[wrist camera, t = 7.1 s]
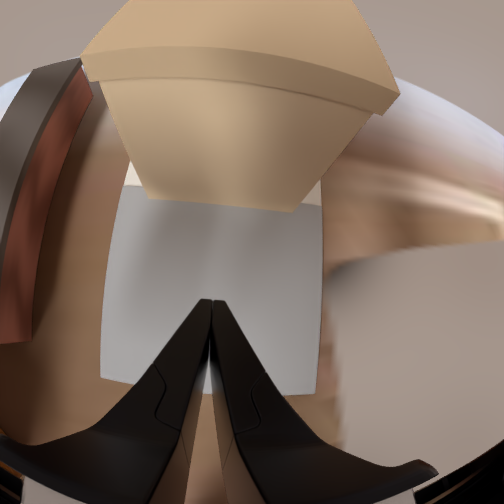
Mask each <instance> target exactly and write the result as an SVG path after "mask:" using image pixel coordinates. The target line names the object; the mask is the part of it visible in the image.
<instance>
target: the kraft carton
mask: <svg viewBox="0 0 504 504" xmlns="http://www.w3.org/2000/svg"><path fill="white" fill-rule="evenodd" d="M80 58H81V61H82V63H83V66H84V69H85V71H86V74H87V77H88V79H89V82H95V81H99V84H100V86H101V89H102V92H103V94H104V97H105V100H106V102H107V105H108V107H109V110H110V113H111V115H112V118H113V120H114V122H115V125H116V127H117V130H118V132H119V135H120V137H121V139H122V142H123V144H124V146H125V149H126V151H127V153H128V155H129V158H130V160H131V162H132V164H133V167H134V169H135V171H136V173H137V175H138V177H139V180H140V182H141V184H142V186H143V188H144V190H145V192H146V194H147V196H148V198H149V199H160V200H173V201H185V202H197V203H208V204H218V205H228V206H237V207H246V208H255V209H264V210H272V211H280V212H288V213H293V212H294V210H295V209H296V208H297V207H298V206H299V204H300V203H301V202H302V201H303V199H304V198H305V197H306V196H307V194H308V193H309V192H310V191H311V190H312V188H313V187H314V186H315V185H316V183H317V182H318V181H319V180H320V178H321V177H322V176H323V175H324V174H325V172H326V171H327V170H328V169H329V167H330V166H331V165H332V164H333V162H334V161H335V160H336V159H337V157H338V156H339V155H340V154H341V153H342V151H343V150H344V149H345V148H346V146H347V145H348V144H349V143H350V141H351V140H352V139H353V138H354V136H355V135H356V134H357V133H358V131H359V130H360V129H361V128H362V126H363V125H364V124H365V123H366V121H367V120H368V119H369V118H370V116H371V115H372V114H373V113H376V114H379V115H381V116H382V115H383V114H384V113H385V112H386V111H387V109H388V108H389V107H390V106H391V105H392V103H393V102H394V101H395V100H396V99H397V98H398V96H399V95H400V92H399V89H398V87H397V84H396V82H395V79H394V77H393V75H392V73H391V70H390V68H389V66H388V64H387V62H386V60H385V58H384V56H383V53H382V51H381V49H380V48H379V46H378V44H377V42H376V40H375V38H374V36H373V34H372V33H371V31H370V29H369V27H368V25H367V24H366V22H365V20H364V19H363V17H362V15H361V14H360V12H359V11H358V9H357V7H356V6H355V4H354V3H353V1H352V0H129V1H128V2H127V3H126V4H125V5H124V6H123V7H122V8H121V9H120V10H119V11H118V12H117V13H116V14H115V15H114V16H113V17H112V18H111V19H110V20H109V22H108V23H107V24H106V25H105V26H104V27H103V28H102V29H101V30H100V31H99V33H98V34H97V35H96V36H95V37H94V39H93V40H92V41H91V42H90V43H89V45H88V46H87V47H86V49H85V50H84V51H83V52H82V54H81V55H80Z"/></svg>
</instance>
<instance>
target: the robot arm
mask: <svg viewBox="0 0 504 504" xmlns="http://www.w3.org/2000/svg"><path fill="white" fill-rule="evenodd" d="M212 303H213V305H212ZM209 349H210V350H209ZM208 361H209V366H210V377H211V387H212V396H213V405H214V414H215V422H216V430H217V438H218V445H219V452H220V459H221V466H222V470H223V478H224V484H225V490H226V496H227V501H228V504H504V439H503V440H502V441H501V442H499V443H498V444H496V445H495V446H494V447H492V448H491V449H489V450H488V451H486V452H485V453H483V454H482V455H480V456H479V457H477V458H476V459H474V460H472V461H471V462H469V463H467V464H466V465H464V466H462V467H460V468H459V469H457V470H455V471H453V472H452V473H450V474H448V475H446V476H444V477H442V478H440V479H439V480H437V481H435V482H433V483H431V484H429V485H427V486H425V487H423V488H421V489H420V490H417V491H415V492H414V491H413V487H416V486H418V485H420V484H422V483H424V482H426V481H428V480H430V479H431V478H433V477H435V476H437V475H438V474H439V473H438V471H437V470H436V469H435V468H434V467H433V466H431V465H430V464H428V463H426V462H424V461H422V460H420V459H417V460H413V461H411V462H408V463H405V464H403V465H400V466H396V467H385V466H380V465H377V464H374V463H371V462H369V461H366V460H363V459H361V458H358V457H356V456H354V455H351V454H349V453H346V452H344V451H342V450H340V449H338V448H335V447H333V446H331V445H329V444H327V443H326V442H324V441H323V440H322V439H320V438H319V437H318V436H317V435H316V434H315V433H314V432H313V431H312V430H311V429H310V428H309V426H308V425H307V424H306V423H305V422H304V421H303V420H302V418H301V417H300V416H299V415H298V414H297V413H296V412H295V410H294V409H293V408H292V407H291V406H290V404H289V403H288V402H287V401H286V399H285V398H284V397H283V396H282V394H281V393H280V392H279V390H278V389H277V387H276V386H275V384H274V383H273V381H272V380H271V378H270V376H269V375H268V373H267V372H266V370H265V368H264V367H263V365H262V363H261V362H260V360H259V358H258V357H257V355H256V353H255V352H254V350H253V348H252V347H251V345H250V343H249V341H248V340H247V338H246V336H245V335H244V333H243V331H242V329H241V328H240V326H239V324H238V322H237V321H236V319H235V317H234V315H233V314H232V312H231V310H230V308H229V306H228V305H227V303H226V301H224V300H216V299H215V300H213V301H212V299H204V298H201V299H200V300H199V301H198V302H197V304H196V305H195V306H194V308H193V309H192V310H191V312H190V313H189V314H188V316H187V317H186V318H185V319H184V321H183V322H182V323H181V325H180V326H179V327H178V329H177V330H176V331H175V333H174V334H173V335H172V337H171V338H170V339H169V341H168V342H167V343H166V345H165V346H164V347H163V349H162V350H161V352H160V353H159V354H158V356H157V357H156V358H155V360H154V361H153V363H152V364H151V365H150V366H149V368H148V369H147V370H146V372H145V373H144V374H143V375H142V377H141V378H140V379H139V380H138V382H137V383H136V384H135V385H134V386H133V387H132V388H131V389H130V390H129V391H128V392H127V394H126V395H125V396H124V397H123V398H122V399H121V400H120V401H119V402H118V403H117V404H116V405H115V406H114V407H113V408H112V409H111V410H110V411H109V412H108V413H107V414H106V415H105V416H104V417H103V418H102V419H101V420H100V421H98V422H97V423H96V424H94V425H93V426H91V427H89V428H88V429H85V430H83V431H80V432H77V433H74V434H72V435H69V436H66V437H63V438H60V439H57V440H54V441H51V442H47V443H44V444H40V445H24V444H21V443H19V442H17V441H15V440H13V439H12V438H10V437H8V436H6V435H4V434H0V461H1V462H3V463H4V464H6V465H7V466H9V467H11V468H12V469H14V470H16V471H17V472H19V473H21V474H22V475H24V477H23V480H22V479H20V478H19V477H17V476H15V475H14V474H12V473H10V472H9V471H7V470H6V469H4V468H3V467H1V466H0V504H184V502H185V495H186V489H187V482H188V476H189V468H190V463H191V457H192V451H193V445H194V439H195V433H196V428H197V422H198V416H199V411H200V405H201V400H202V394H203V389H204V383H205V378H206V373H207V367H208Z"/></svg>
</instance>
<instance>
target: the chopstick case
mask: <svg viewBox="0 0 504 504" xmlns="http://www.w3.org/2000/svg"><path fill="white" fill-rule="evenodd" d="M82 64H83V63H82V61H81V58H76V59H71V60H67V61H62V62H58V63H54V64H51V65H47V66H43V67H40V68H37V69H33V71H32V72H31V73H30V75H29V76H28V78H27V79H26V81H25V82H24V83H23V85H22V86H21V88H20V90H19V91H18V93H17V94H16V96H15V97H14V99H13V101H12V102H11V104H10V106H9V107H8V109H7V111H6V113H5V114H4V116H3V118H2V120H1V122H0V344H5V343H15V342H25V341H32V312H33V298H34V288H35V279H36V271H37V265H38V258H39V252H40V247H41V242H42V237H43V232H44V228H45V223H46V219H47V215H48V211H49V207H50V204H51V200H52V197H53V193H54V190H55V187H56V183H57V180H58V177H59V174H60V171H61V168H62V166H63V163H64V160H65V157H66V155H67V152H68V150H69V147H70V145H71V142H72V140H73V137H74V135H75V133H76V130H77V128H78V126H79V124H80V122H81V119H82V117H83V115H84V113H85V111H86V109H87V107H88V105H89V103H90V101H91V99H92V97H93V94H92V92H91V89H90V87H89V84H88V82H87V79H86V77H85V75H84V72H83V69H82V67H81V66H82Z"/></svg>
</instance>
